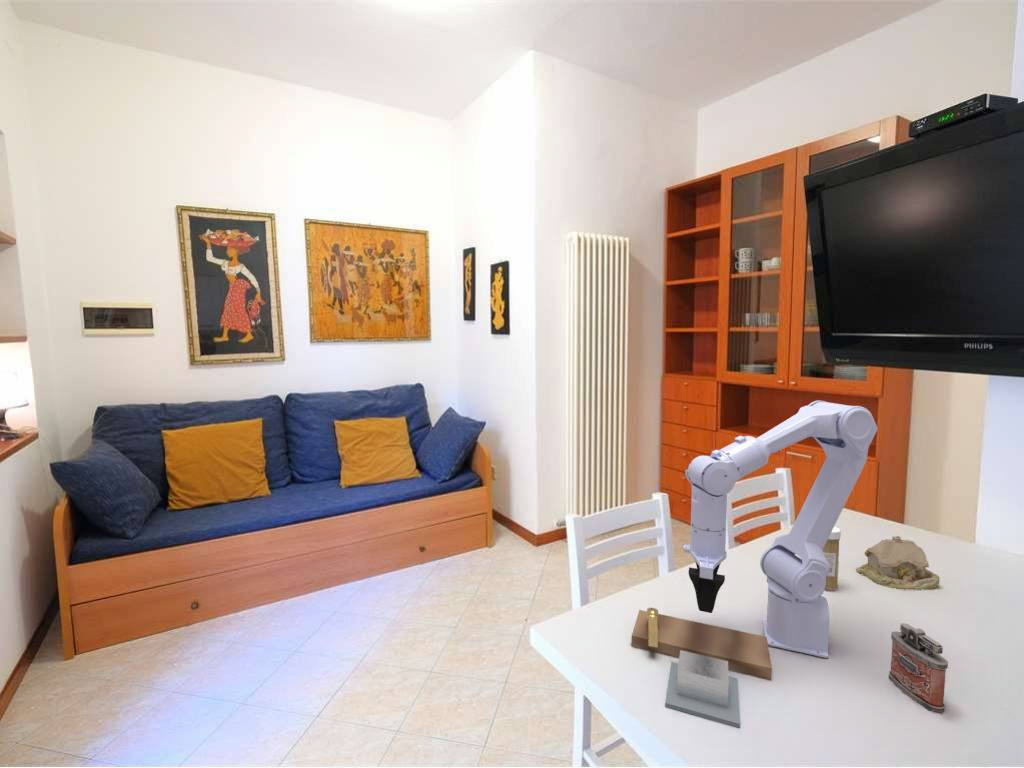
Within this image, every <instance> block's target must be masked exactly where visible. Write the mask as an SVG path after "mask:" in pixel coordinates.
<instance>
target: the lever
mask: <svg viewBox="0 0 1024 768" xmlns="http://www.w3.org/2000/svg"><path fill="white" fill-rule="evenodd" d="M646 611H647V626H648V646H651V647H658V614H659V610H658V609H657V608H654V607H648V608H647V609H646Z"/></svg>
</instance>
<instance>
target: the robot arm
mask: <svg viewBox="0 0 1024 768" xmlns="http://www.w3.org/2000/svg"><path fill="white" fill-rule="evenodd" d="M878 429H879V428H878V425H877V424H876V422H875V419H874V417H873V414H872V413H871V412H870V410H868V409H867V407H863V406H861V405H848V404H847V405H846V404H841V403H835V402H828V401H825V400H815V401H812V402H810V403H809V404H808V405H804V406H801V407H800V408H799V409H798V412H797V413H796V414H794V415H792V416H790V417H789V418H788V419H786V420H784V421H783V422H781V423H779V424H778V425H776V426H774V427H772V428H771V429H769V430H767V431H766V432H765V433H763V434H761V435H759V436H758V437H754V436H751V435H746V436H745V435H744V436H742V435H739V436H737V437H735V438H734V442H732V443H730V444H727V445H726V446H724V447H722V448H721V449H715V450H713V451H711V454H710V455H704V454H703V455H699V456H697V457H695V458H694V459H692V460H691V462H690V463H689V464H688V468H687V469H685V477H686V479H687V481H688V482H689V483H690V486H691V487H690V488H691V499H690V500H691V503H690V504H691V507H690V539H689V540H690V541H689V542H690V543H689V544H683V548H682V549H683V552H684V553H689V554H690V555H691V557H692V559H693V560H694V561H695V565H696V567H688V576H689V579H690V580H691V583H692V585H693V587H694V592H695V596H696V602H697V603H696V604H697V608H698V611H699V612H702V613H709V614H713V611H714V609H715V604H716V600H717V597H718V593H719V591H720V589H721V587H722V586H723V585H724V584H725V580H726V576H725V574H719V573H718V572H719V568H720V566H721V565H722V564H721V563H723V562H724V561H725V560H726V559H727V551H726V541H727V540H726V539H727V538H726V537H727V507H728V502H727V501H728V494H729V493H730V492H731V491H732V490H733V489H734V487H735V485H736V483H737V482H738V481H740V479H741V478H743V477H745V476H747V475H749V474H751V473H753V472H755V471H757V470H759V469H761V468H762V467H764V466H767V464H768V462H769V457H770V455H771V454H775V453H776V452H779V451H781V450H784V449H785V448H788V447H790V446H792V445H794V444H797V443H798V442H801V441H803V440H805V439H808V438H809V437H812V438H814V440H815V441H816V442H817V443H818V444H819V445H820V446H821V448H822V449H823V452H824V454H825V456H826V459H825V461H824V462H823V464H822V466H821V469H820V471H819V473H818V474H817V477H816V478H815V481H814V483H813V485H812V487H811V489H810V491H809V493H808V495H807V497H806V499H805V501H804V503H803V505H802V507H801V508H800V511H799V513H798V515H797V516H796V517H797V518H796V519H795V521H794V523H793V525H792V527H791V529H790V531H789V533H787V534H784V535H780V536H777V537H776V538H775V539H774V541H773V543H772V544H771V545H770V546H769V547H768V548H767V549H765V551H764V552H763V553H762V555H761V557H760V560H759V561H760V562H759V565H760V569H761V571H762V573H763V574H764V575H765V576H766V583H767V584H768V586H767V606H766V607H767V610H766V611H767V612H766V613H767V614H766V619H762V627H763V636H765V637H767V642H768V647H769V646H770V647H773V648H774V647H775V648H779V649H784V650H789V651H793V652H798V653H803V654H807V655H813V656H816V657H821V658H825V659H827V658H829V639H830V638H829V634H830V610H829V603H828V600H827V598H826V597H825V596H823V594H824V592H825V586H826V576H827V573H828V571H829V569H830V567H829V564H828V562H827V560H826V557H825V555H824V553H823V548H824V546H825V544H826V542H827V540H828V538H829V536H830V534H831V532H832V530H833V528H834V527H836V526H835V525H836V523H837V521H838V520H839V517H840V515H841V514H842V512H843V509H844V507H845V505H846V503H847V502H848V499H849V497H850V495H851V494H852V491H853V489H854V487H855V485H856V484H857V481H858V480H859V477H860V476H861V473H862V472H863V469H864V467H865V465H866V462H867V460H868V453H869V447H870V445H871V444H872V441H873V440H874V437H875V436H876V433H877V432H878Z"/></svg>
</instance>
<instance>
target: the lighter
mask: <svg viewBox="0 0 1024 768" xmlns="http://www.w3.org/2000/svg"><path fill="white" fill-rule="evenodd" d="M899 627H900V629H899V630H900V631H895V630H894V631H891V634H890V636H891V637H890V639H891V641H892V642H891V658H890V659H891V660H890V661H891V662H890V670H889V672H888V679H889V681H890V682H892V684H894V686H895V687H896V688H897V689H899V690H900V691H901V692H902V693H903V694H904V695H906V697H909V698H910V699H911V700H912V701H914V702H915V703H916V704H917V705H920V706H921V707H923V708H924V709H925V710H927V711H928V712H932V713H935V714H944V713H945V711H946V710H945V709H946V704H945V703H944V700H945V685H946V672H947V671H946V670H947V669H948V668H949V661H948V660H947V659H946V658H945V657H944V656H943V655H941V654H943V651H944V646H943V645H942V644H941V643H940V642H938V641H937V640H935V639H933V638H932V637H930V636H929V635H927V634H926V632H925V630H923V629H921V628H915V627H913V626H912V625H910V624H909V623H905V622H902V623H901V622H900V626H899Z"/></svg>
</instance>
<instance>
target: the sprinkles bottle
mask: <svg viewBox="0 0 1024 768" xmlns="http://www.w3.org/2000/svg"><path fill="white" fill-rule="evenodd" d="M841 533H842V532H841V529H840V528H839V527H837V526H834V528H833V530H832V532H831V534H830V536H829V538H828V540H827V542H826V544H825V546H824V548H823V553H824V555H825V557H826V560H827V562H828V564H829V567H830V569H829V571H828V573H827V576H826V586H825V590H826V591H831V592H833V591H837V590H838V588H839V585H838V580H839V578H838V577H839V570H840V569H839V565H840V562H839V555H840V539H841ZM825 590H824V591H825Z"/></svg>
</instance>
